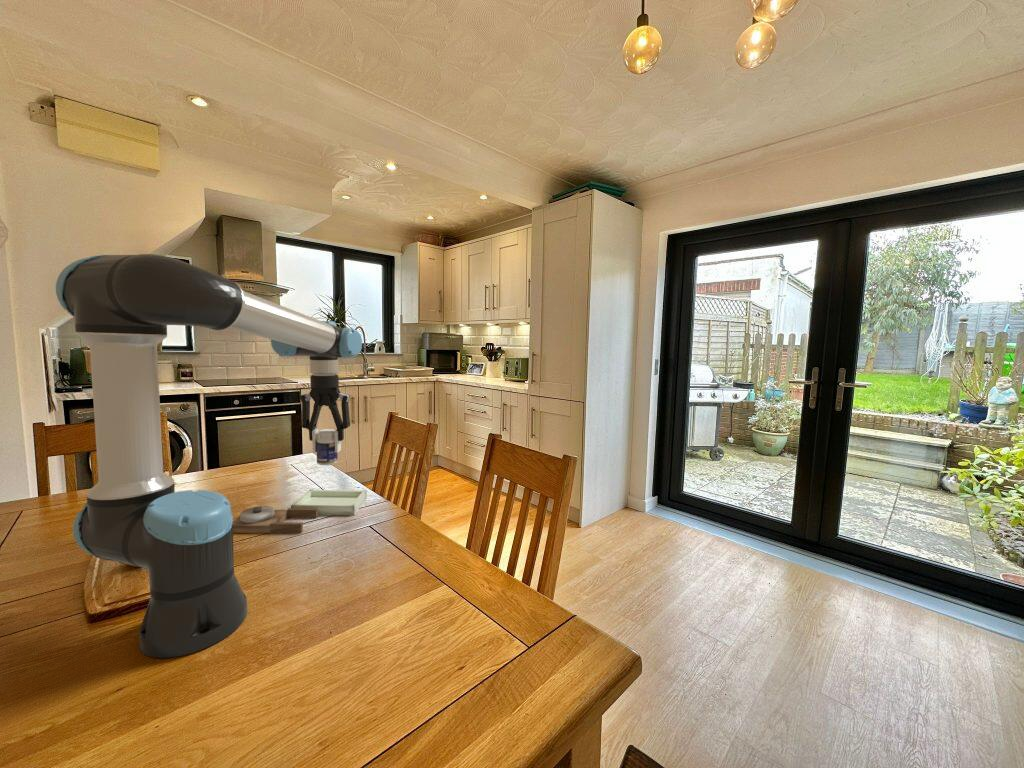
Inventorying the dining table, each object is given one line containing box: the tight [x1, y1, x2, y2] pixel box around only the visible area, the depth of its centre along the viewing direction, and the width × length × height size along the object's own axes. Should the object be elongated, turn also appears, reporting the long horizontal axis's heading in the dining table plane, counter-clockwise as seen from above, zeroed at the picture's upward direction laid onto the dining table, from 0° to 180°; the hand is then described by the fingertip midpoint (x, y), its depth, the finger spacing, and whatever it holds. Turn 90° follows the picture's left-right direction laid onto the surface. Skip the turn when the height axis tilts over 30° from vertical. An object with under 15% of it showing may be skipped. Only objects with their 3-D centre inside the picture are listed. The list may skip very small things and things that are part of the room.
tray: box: [290, 489, 368, 517], centre depth 124 cm, size 12×18×3 cm, turn 92°
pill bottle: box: [316, 428, 339, 466], centre depth 122 cm, size 6×6×10 cm
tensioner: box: [233, 505, 319, 534], centre depth 112 cm, size 10×19×5 cm, turn 92°
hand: (327, 451), depth 122 cm, fingers closed on pill bottle, 6 cm apart
